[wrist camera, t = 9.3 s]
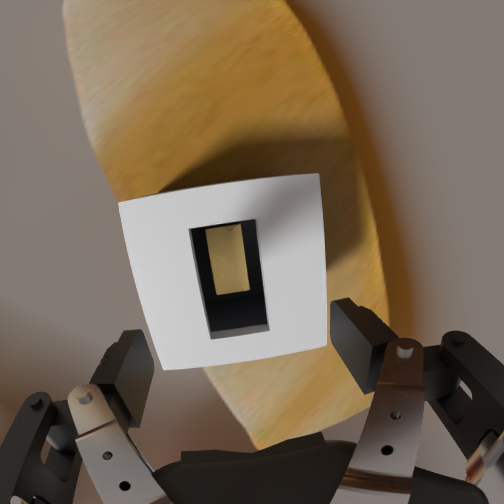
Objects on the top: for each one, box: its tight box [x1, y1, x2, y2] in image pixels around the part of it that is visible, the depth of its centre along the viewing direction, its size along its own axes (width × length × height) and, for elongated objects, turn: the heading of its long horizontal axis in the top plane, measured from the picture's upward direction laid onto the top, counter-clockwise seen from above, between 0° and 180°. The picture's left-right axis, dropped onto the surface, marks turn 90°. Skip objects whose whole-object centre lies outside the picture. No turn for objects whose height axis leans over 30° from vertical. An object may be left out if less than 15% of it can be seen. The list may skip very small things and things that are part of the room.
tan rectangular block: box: [205, 221, 250, 295], centre depth 23 cm, size 5×2×6 cm, turn 7°
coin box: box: [118, 173, 327, 370], centre depth 22 cm, size 12×12×10 cm
